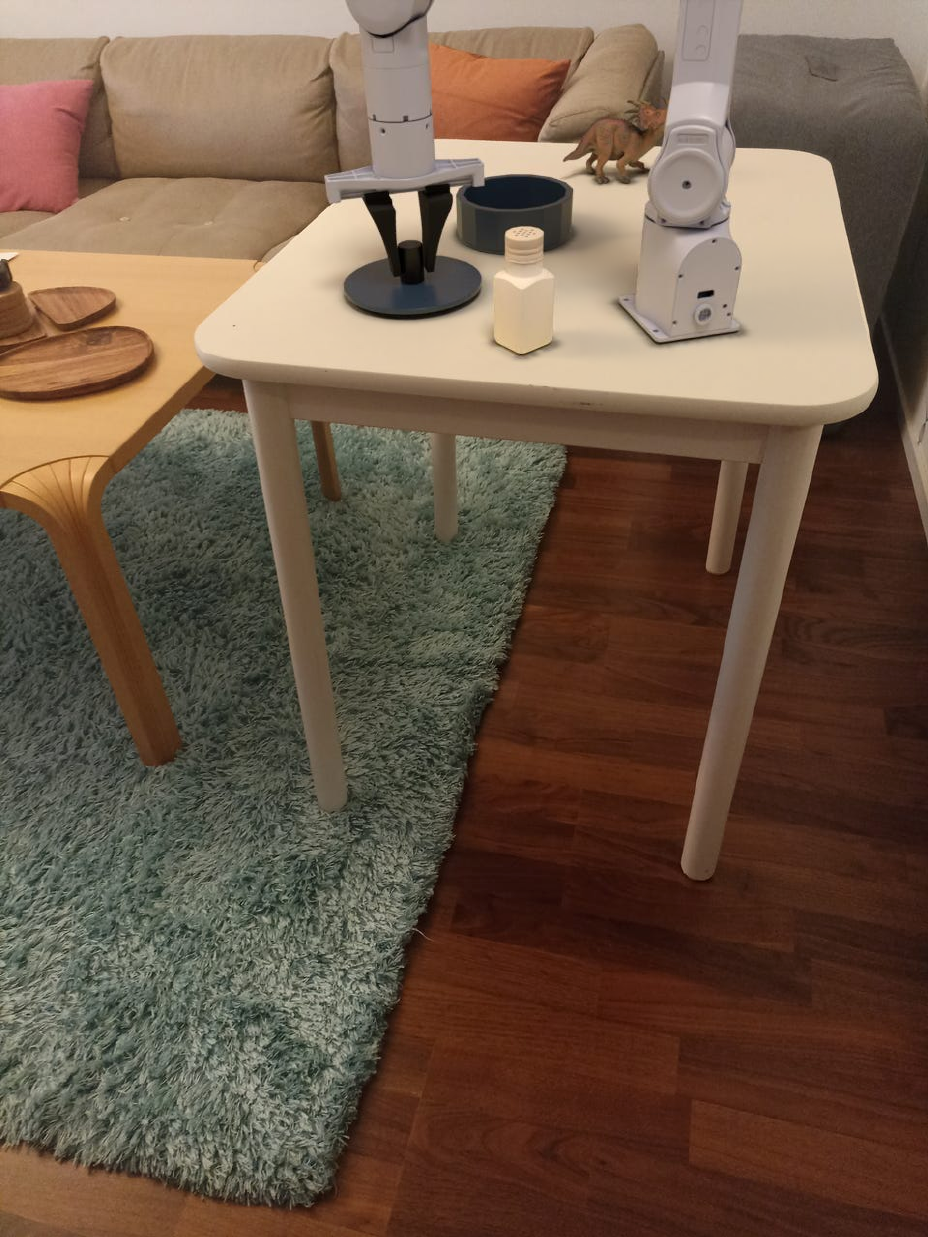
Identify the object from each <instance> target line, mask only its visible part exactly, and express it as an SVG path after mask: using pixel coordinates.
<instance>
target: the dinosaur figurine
mask: <svg viewBox="0 0 928 1237" xmlns="http://www.w3.org/2000/svg"><path fill="white" fill-rule="evenodd" d="M660 98H661V99H662V100H663V102H664V103H665V107H666V108H665V109H664V108H662V109H659V108H657V109H656V107H655V106H654V105H652V102H651V101H649V102H648V101H645V100H643V99H642V100H641V99H640V100H638V101H637V100H631V99H629V100H627V101H626V103H627V104H632V105H633V106H635V107H636V108H630V109H628V110H626V111H624V112H623V113H624V114H633V115H631V116H630V117H628V118H627V119H625V118H622V117H621V118H620V117H615V116H614V117H606V118H601V119H598V120H596V121H594V122H592V124H590V126H588V127H587V129H586V130H585V131H584V134H583V136H581V138H580V141H579V143H578V144H577V146H576V148H575V149H574V150H573V151H571V152H570V153H568V154H567V155H566V156H564V158H563V159H562V162H563V163H565V162H568V161H577V160H579V159H581V158H582V157H585V156H586V155H588V154H590V156H589V157H588V158H587V159H586V161H585V171H586V172H587V173H591V174H596V179H597V183H598V184H599V185H600V184H603V183H604V184H607V183H608V182H609V181H610V180H611V179H610V178H609V177H608V176H606V174H605V173H604V171H603V168H604V167H605V166H606V164H607V163H608V161H609V162H615V161H616V163H615V166H616V170H617V171H618V173H619V175H620V181H621V183H624V184H629V183H632V181H631V179H630V178H628V175H627V171H626V166H627V165H628V166H629V167H631V168H633V169H639V170H641V171H642V173H649V172H650V169H651V168H647V167H646V166H645V162H643V161H640V159H641V158H643V157H644V156H645V155H646V154H648V153H649V151H650V152H651V150H652V149H653V148H655V147H656V146H657V144H658V142H659V141H660V139H661V138H662V137H663V136H664V130H665V122H666V116H667V111H668V105H669V100H670V99H668V98H667V97H666V96H664V95H661V96H660ZM632 120H634V123H632V122H630V121H632ZM637 122H638V124H640V125H641V127H642V128H643V130H642V129H641V128H639V127H638V126H636V125H635V124H636V123H637ZM596 161H597V162H596ZM594 162H596V165H595V167H593V164H594Z"/></svg>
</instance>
